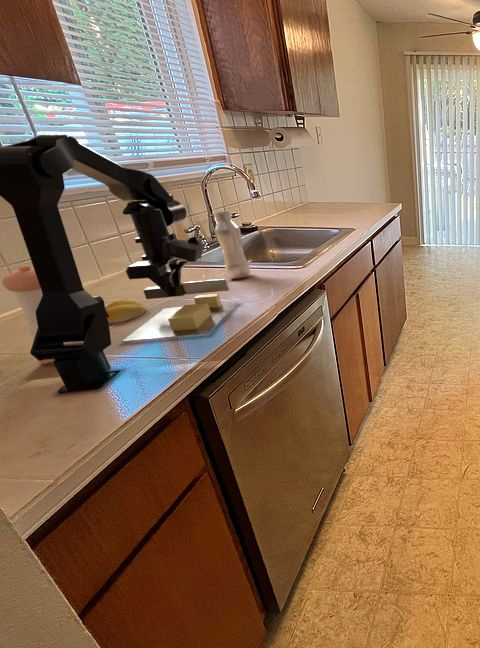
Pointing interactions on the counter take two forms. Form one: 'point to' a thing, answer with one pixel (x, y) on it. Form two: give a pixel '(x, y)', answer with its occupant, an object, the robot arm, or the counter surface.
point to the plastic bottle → (231, 246)
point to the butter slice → (208, 300)
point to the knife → (188, 288)
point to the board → (162, 329)
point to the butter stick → (189, 317)
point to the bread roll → (124, 310)
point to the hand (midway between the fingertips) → (175, 294)
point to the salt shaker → (27, 296)
